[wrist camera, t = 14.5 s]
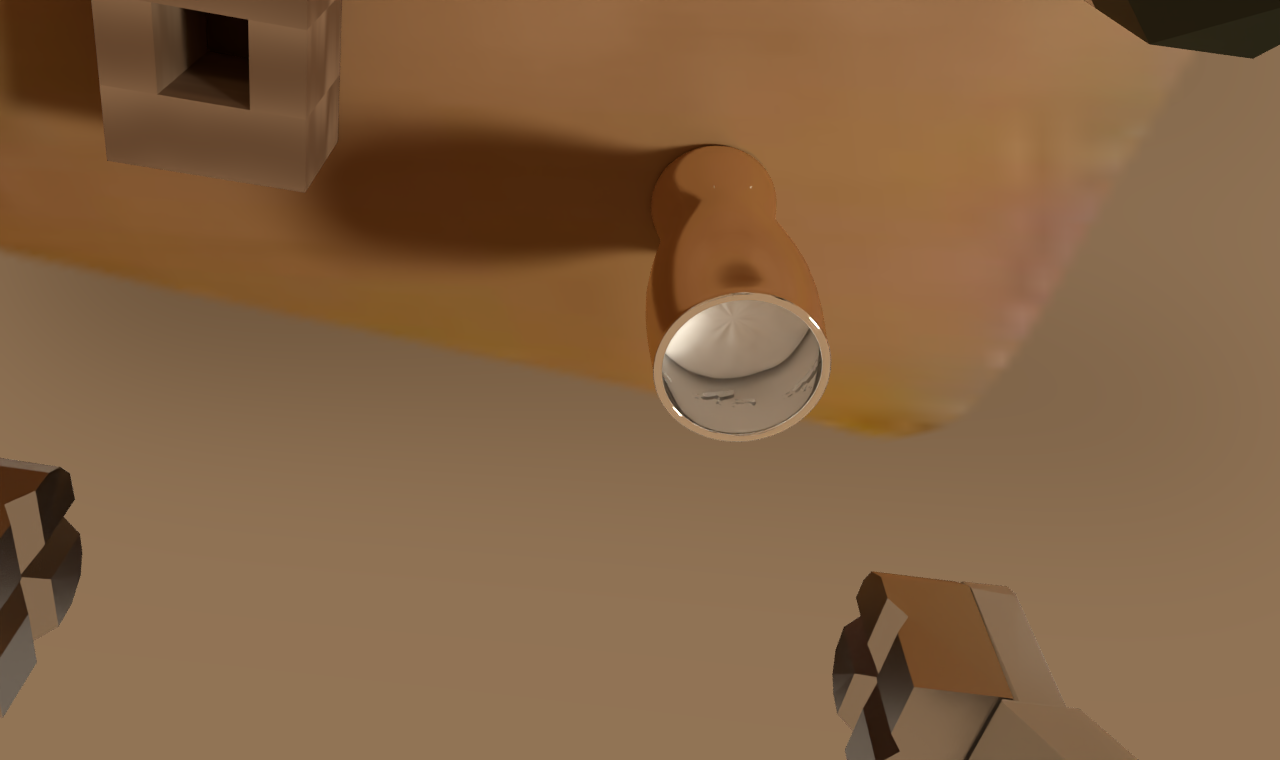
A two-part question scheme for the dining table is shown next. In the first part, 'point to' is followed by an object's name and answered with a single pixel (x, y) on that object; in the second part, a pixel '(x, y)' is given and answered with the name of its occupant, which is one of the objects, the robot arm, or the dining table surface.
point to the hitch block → (220, 88)
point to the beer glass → (731, 302)
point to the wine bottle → (1200, 23)
